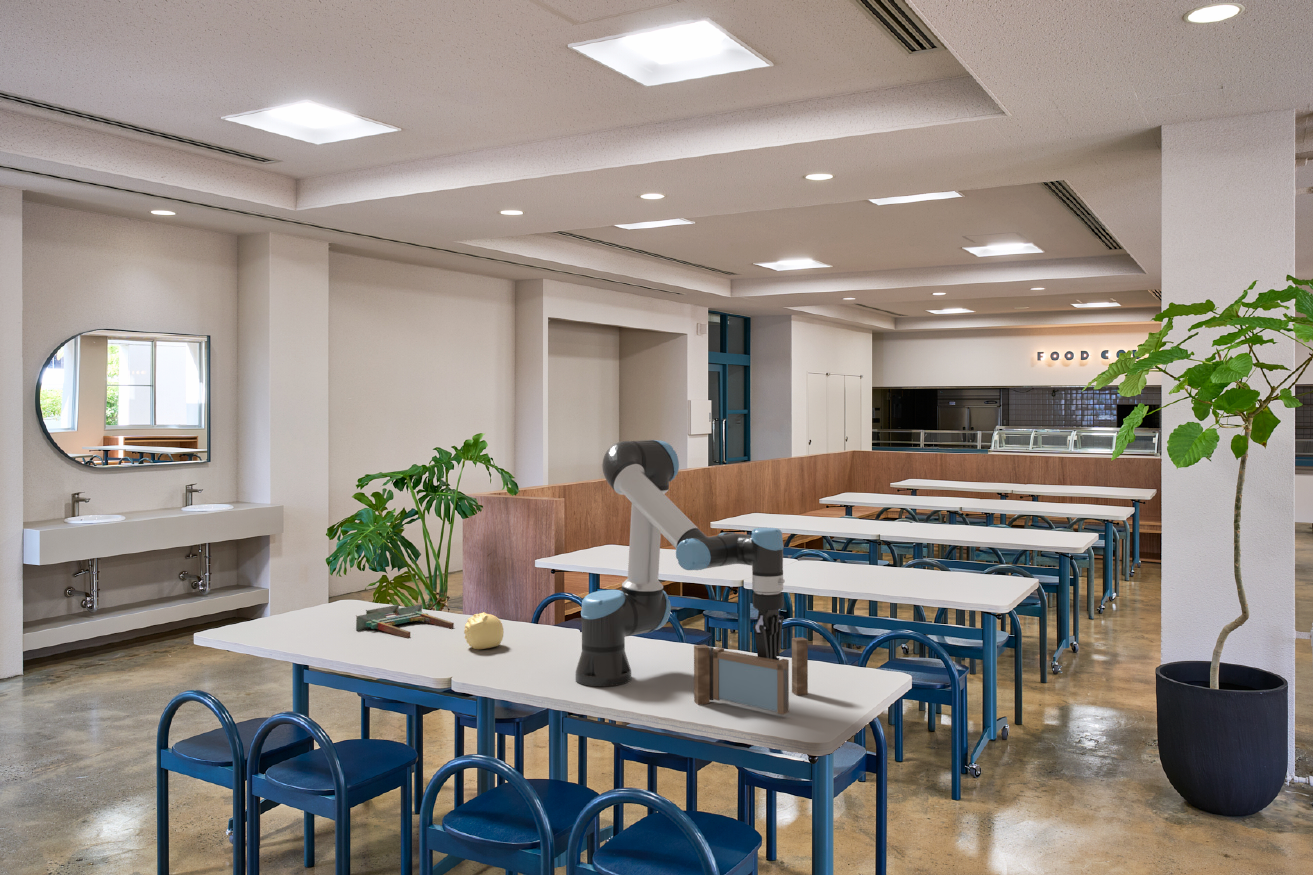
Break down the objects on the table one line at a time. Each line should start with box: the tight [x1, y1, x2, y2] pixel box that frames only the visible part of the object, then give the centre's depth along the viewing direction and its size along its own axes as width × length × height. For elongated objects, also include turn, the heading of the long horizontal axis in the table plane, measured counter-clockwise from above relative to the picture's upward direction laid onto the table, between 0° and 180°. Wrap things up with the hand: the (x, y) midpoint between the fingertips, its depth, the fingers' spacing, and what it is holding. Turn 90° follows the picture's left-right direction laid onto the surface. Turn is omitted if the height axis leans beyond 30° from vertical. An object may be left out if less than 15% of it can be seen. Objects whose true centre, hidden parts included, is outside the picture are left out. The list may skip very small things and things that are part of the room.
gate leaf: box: [713, 646, 790, 716], centre depth 230 cm, size 20×3×12 cm, turn 51°
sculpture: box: [463, 611, 504, 650], centre depth 296 cm, size 12×12×11 cm
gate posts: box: [693, 636, 809, 706], centre depth 240 cm, size 30×3×14 cm, turn 106°
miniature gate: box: [355, 603, 455, 638], centre depth 326 cm, size 27×6×30 cm
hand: (769, 687), depth 233 cm, fingers closed
